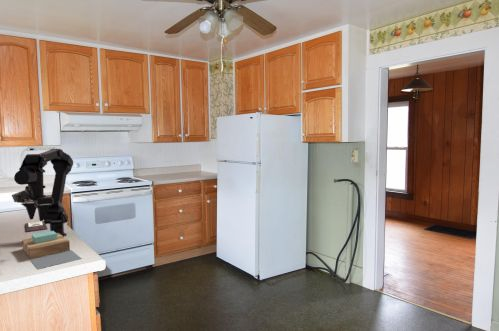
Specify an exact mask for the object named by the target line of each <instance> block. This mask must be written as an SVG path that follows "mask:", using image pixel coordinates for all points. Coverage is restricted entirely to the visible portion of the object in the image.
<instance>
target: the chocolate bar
mask: <svg viewBox="0 0 499 331" xmlns="http://www.w3.org/2000/svg"><path fill="white" fill-rule="evenodd" d="M24 224H25V233H31V232H32V233H33V232H38V231H44V230H46V231H47V230H48V226H47V224H45V222H44V220H43V221H40V220H39V221H33V222H26V223H24Z"/></svg>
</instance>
